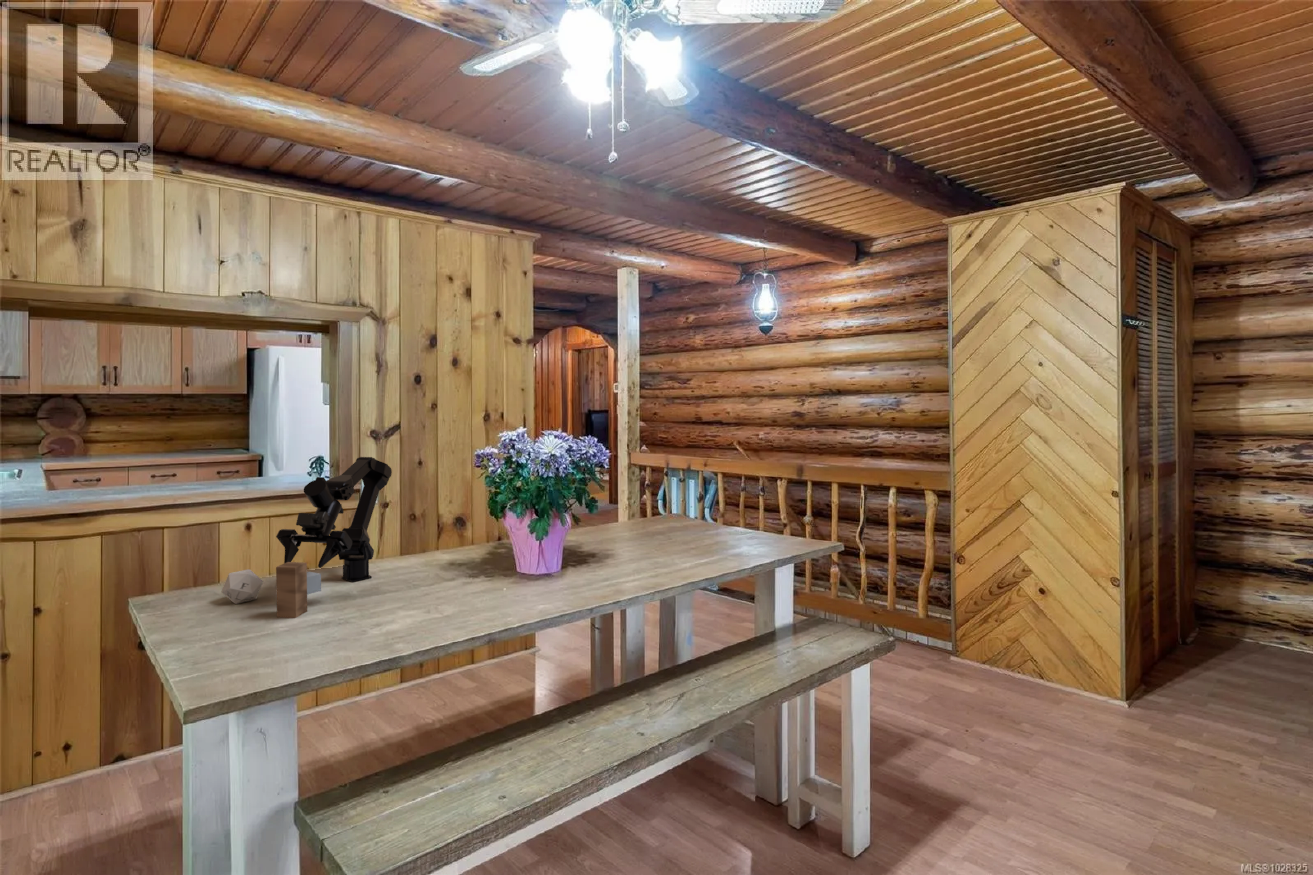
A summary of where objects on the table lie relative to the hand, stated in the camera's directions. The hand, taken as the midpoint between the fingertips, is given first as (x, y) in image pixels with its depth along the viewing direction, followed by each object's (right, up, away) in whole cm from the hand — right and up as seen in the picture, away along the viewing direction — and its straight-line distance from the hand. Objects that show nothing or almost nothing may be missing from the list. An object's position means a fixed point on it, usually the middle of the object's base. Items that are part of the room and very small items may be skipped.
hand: (302, 566), depth 176 cm
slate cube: (-7, -10, +15) cm, 20 cm away
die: (-20, -11, +6) cm, 23 cm away
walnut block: (0, -12, -4) cm, 12 cm away
